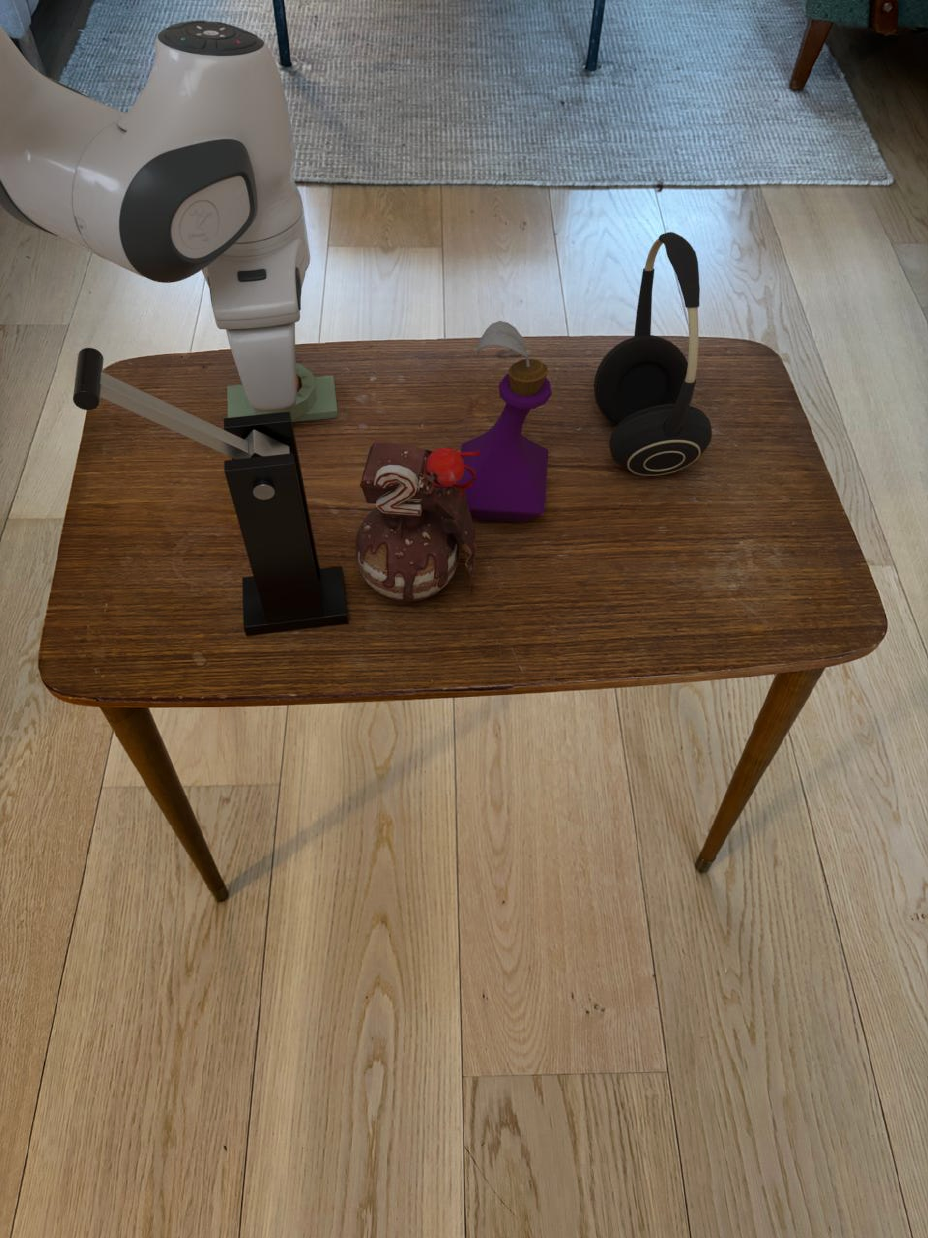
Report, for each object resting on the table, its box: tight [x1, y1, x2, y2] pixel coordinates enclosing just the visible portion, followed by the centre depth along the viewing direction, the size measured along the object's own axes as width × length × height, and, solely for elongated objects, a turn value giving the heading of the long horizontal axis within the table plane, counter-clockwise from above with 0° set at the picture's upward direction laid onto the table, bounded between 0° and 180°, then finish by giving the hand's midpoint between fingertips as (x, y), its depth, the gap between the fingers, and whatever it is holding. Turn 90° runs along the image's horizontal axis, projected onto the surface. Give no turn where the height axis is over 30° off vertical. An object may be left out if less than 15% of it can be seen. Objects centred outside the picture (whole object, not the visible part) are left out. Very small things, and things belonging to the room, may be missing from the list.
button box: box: [226, 362, 339, 423], centre depth 91 cm, size 10×6×2 cm, turn 99°
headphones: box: [593, 231, 713, 477], centre depth 81 cm, size 9×15×20 cm, turn 6°
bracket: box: [223, 411, 349, 637], centre depth 71 cm, size 8×6×18 cm
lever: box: [72, 347, 290, 459], centre depth 62 cm, size 14×4×2 cm
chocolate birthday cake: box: [355, 439, 481, 603], centre depth 74 cm, size 9×8×15 cm
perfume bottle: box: [455, 320, 553, 525], centre depth 78 cm, size 8×8×18 cm
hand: (279, 379), depth 90 cm, fingers closed, pressing on button
